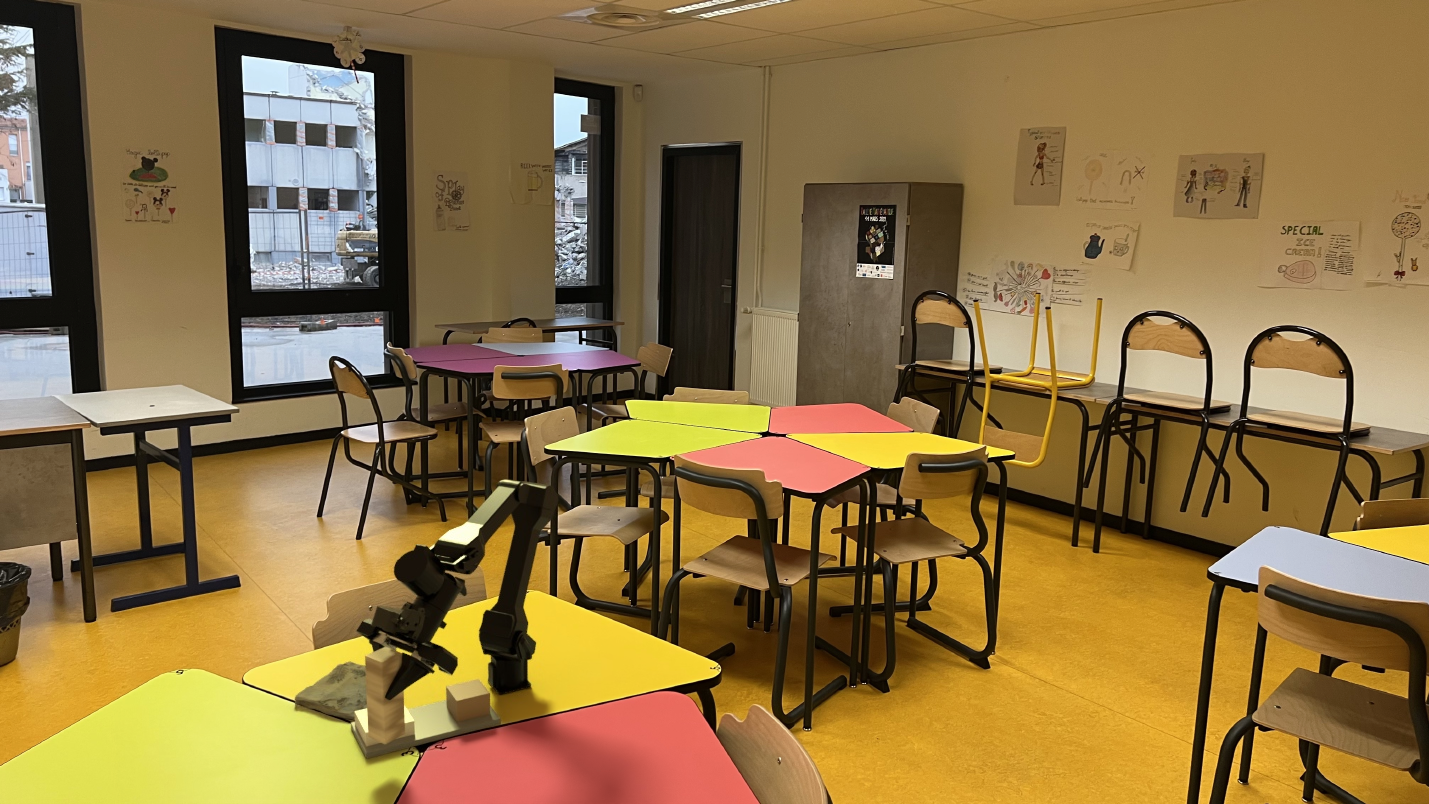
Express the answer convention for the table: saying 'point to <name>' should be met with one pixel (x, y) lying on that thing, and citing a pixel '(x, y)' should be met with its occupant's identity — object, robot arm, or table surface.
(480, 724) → the building board
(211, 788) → the table surface
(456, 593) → the robot arm
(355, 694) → the fossil rock
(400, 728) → the beech pillar
